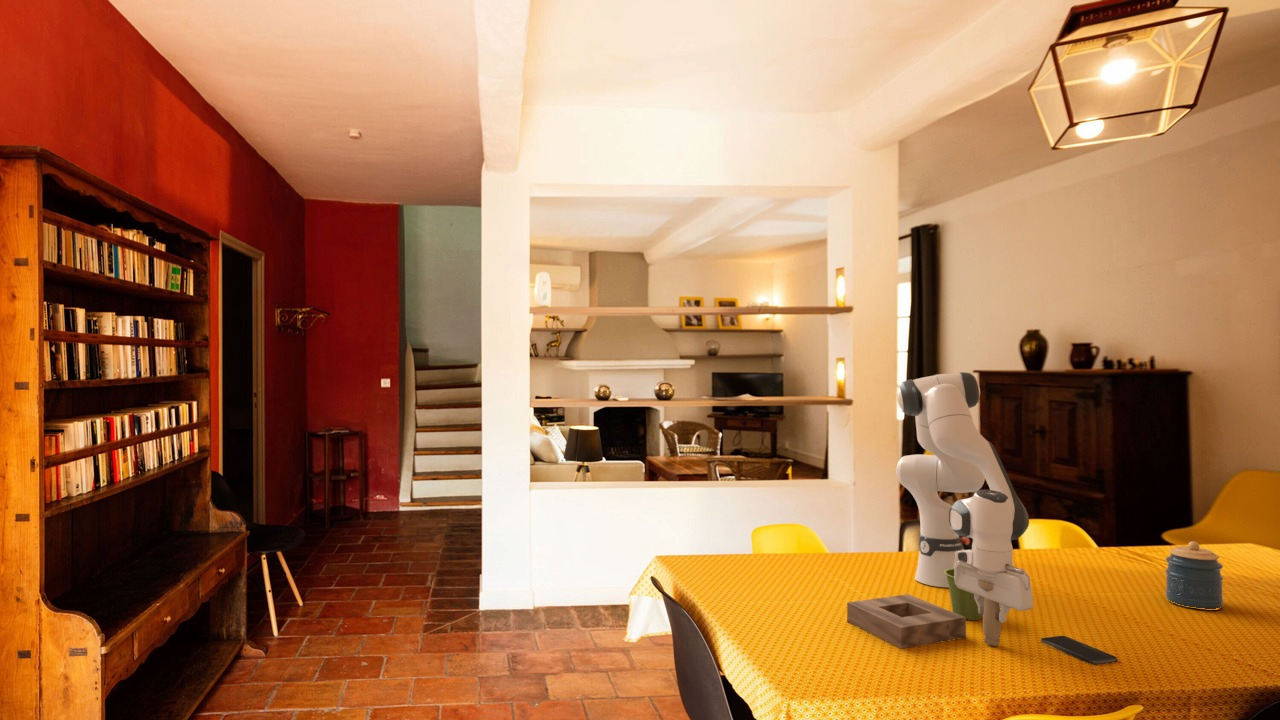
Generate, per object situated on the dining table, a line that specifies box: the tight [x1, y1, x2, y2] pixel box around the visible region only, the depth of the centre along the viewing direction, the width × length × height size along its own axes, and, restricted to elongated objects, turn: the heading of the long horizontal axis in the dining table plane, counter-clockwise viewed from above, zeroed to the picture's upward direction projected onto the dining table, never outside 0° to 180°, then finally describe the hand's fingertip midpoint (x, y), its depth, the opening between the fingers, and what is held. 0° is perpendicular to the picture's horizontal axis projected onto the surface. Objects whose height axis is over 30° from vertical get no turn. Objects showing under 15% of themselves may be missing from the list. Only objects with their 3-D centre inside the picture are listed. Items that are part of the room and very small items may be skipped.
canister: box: [1165, 540, 1224, 609], centre depth 209 cm, size 13×13×18 cm
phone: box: [1040, 635, 1118, 666], centre depth 173 cm, size 8×1×15 cm
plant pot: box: [944, 568, 983, 621], centre depth 198 cm, size 12×12×11 cm
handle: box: [978, 579, 1002, 647], centre depth 177 cm, size 5×6×15 cm
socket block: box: [846, 594, 967, 650], centre depth 187 cm, size 20×20×5 cm
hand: (992, 617), depth 177 cm, fingers closed on handle, 4 cm apart
